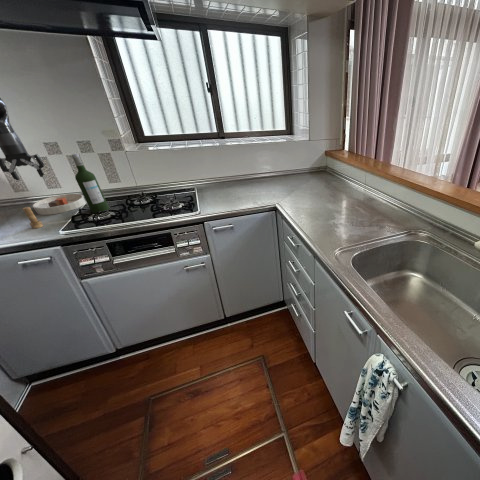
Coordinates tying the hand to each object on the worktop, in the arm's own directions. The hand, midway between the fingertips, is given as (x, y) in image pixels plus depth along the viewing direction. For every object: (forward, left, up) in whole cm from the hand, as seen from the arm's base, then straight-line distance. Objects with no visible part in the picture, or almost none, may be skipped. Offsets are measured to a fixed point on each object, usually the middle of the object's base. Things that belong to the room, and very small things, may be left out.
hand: (30, 178), depth 129 cm
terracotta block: (-1, +15, -20) cm, 25 cm away
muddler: (0, -12, -20) cm, 24 cm away
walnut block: (-2, +11, -20) cm, 23 cm away
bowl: (0, +12, -20) cm, 24 cm away
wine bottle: (+22, +1, -21) cm, 30 cm away
